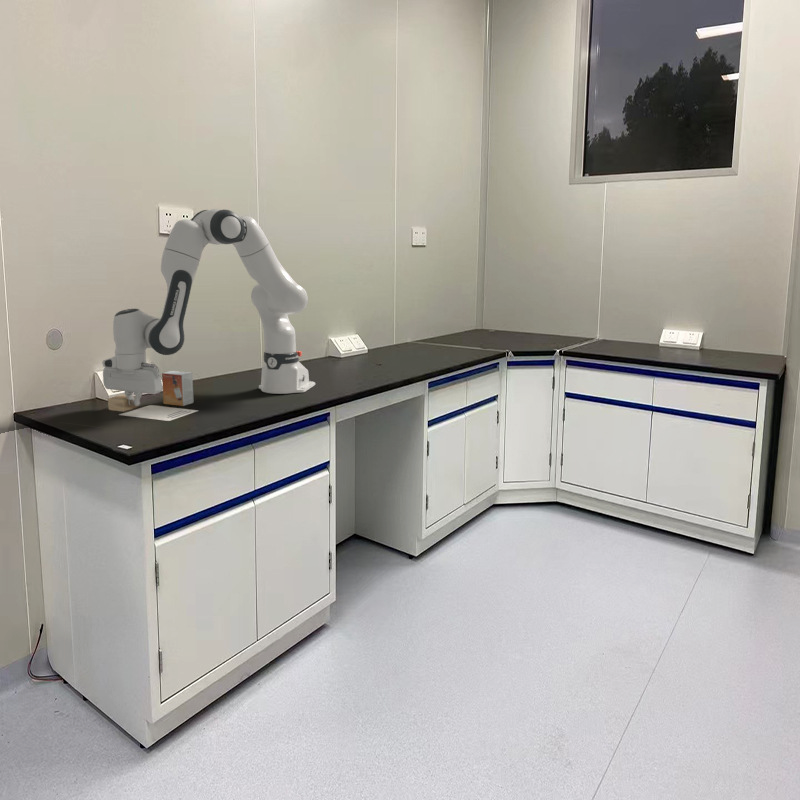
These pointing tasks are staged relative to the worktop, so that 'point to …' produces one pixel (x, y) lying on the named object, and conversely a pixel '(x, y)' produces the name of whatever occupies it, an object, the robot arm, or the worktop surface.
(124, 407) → the beech block
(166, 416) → the letter
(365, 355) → the worktop surface
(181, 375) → the small box
